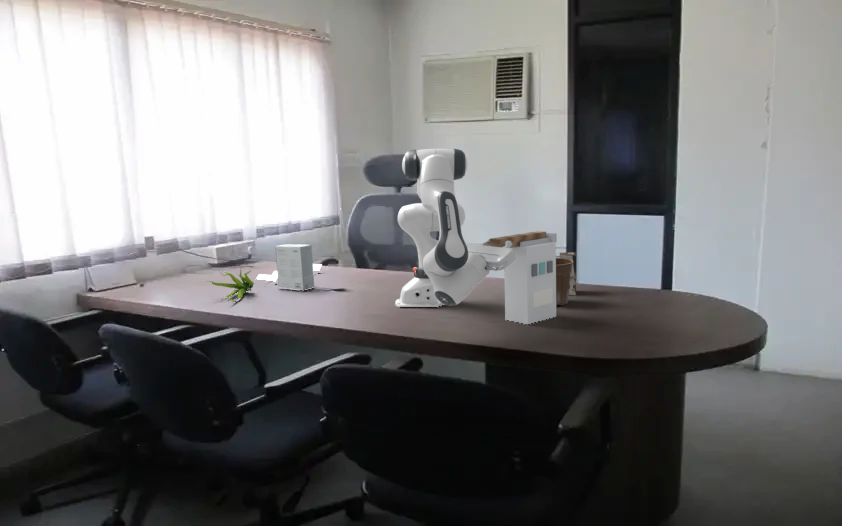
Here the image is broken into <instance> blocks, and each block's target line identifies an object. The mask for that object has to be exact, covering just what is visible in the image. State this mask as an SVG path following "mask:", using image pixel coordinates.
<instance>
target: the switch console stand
mask: <svg viewBox="0 0 842 526" xmlns="http://www.w3.org/2000/svg"><path fill="white" fill-rule="evenodd" d="M557 235H558V234H557V232H546V238H542V239H536V240H530V241H524V242H520V247H514V248H511V249H513V251H514V253H515V255H516V259H515V260H514V261H513V262H512V263H511V264H510V265H509V266H507V267H506V268H505V269H503V271H504V272H503V273H504V274H503V275H504V280H503V281H504V315H505V316H504V320H505V321H507V320H509V321H508V322H511V321H514V322H513V323H516V322H519V323H518V324H521V323H523V324H522V325H525V324H530V325H532V324H531V323H533V324H535V323H534V322H536V323H539V322H538V321H540V322H542V320H543V321H547V320H550V319H553V317H554V318H556V317H557V306H556V258H557V255H556V254H557V252H556V250H557V249H556V247H557V239H558V238H557ZM549 318H550V319H549ZM546 319H547V320H546Z"/></svg>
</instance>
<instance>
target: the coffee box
mask: <svg viewBox="0 0 842 526" xmlns="http://www.w3.org/2000/svg"><path fill="white" fill-rule="evenodd" d="M559 258H565V259H570V260H573V264H572V271H571V273H570V283H569V295H568V296H576V295H577V254H576V252H575V251H573V252H572V251H570V252H569V251H568V252H567V251H566V252H565V251H564V252H559Z"/></svg>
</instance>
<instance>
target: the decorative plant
mask: <svg viewBox="0 0 842 526" xmlns="http://www.w3.org/2000/svg"><path fill="white" fill-rule="evenodd" d="M239 268H240V270H239V271H240V272H239V273H237V275H238V276H239V277H240V279H238V278H237V277H236V276H235V275H233V274H232V273H229V272H227V271H225V270H223V269H222V272H223V273H225V274H223V273H221V271H219V272H220V274H221V275H222V276H224V277H225V276H229V277H230V278H231V281H233V282H234V283H227V282H226V283H225V282H214V281H212V280H211V281H210V280H206V282H208V283H209V282H210V283H211V284H212V285H214V286H217V287H218V286H220V287H225V288H230V289H234V290H233V291H231V292H230V293H229V294H227V295H226V296H224V297H228V298H230V297H232V296H234V295H236V294H235V293H237V292H238V294H237V298H241V297H243V295H244V294H245V293H244V292H246V291H249V290H251V291H252V288H254V285H255V284H254V281H253V280H251V278H250V277H249V276H248V274H250V273H251V272H252V270H250V269H249V270H248V271H247V272H246V273H244V276H243V274H242V267H241V266H239ZM249 292H250V291H249ZM231 295H232V296H231ZM229 296H230V297H229ZM230 301H231V302H232V303H233V302H234V301H235V300H234V299H232V298H231V299H229V301H228V303H227V304H229V303H230Z"/></svg>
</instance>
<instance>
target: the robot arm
mask: <svg viewBox="0 0 842 526" xmlns="http://www.w3.org/2000/svg"><path fill="white" fill-rule="evenodd" d="M401 169H402V172H403V174H404V177H405V178H406V179H407V180H410V181H413V182H417V189H416V190H417V195H418V197H419V199H420V201H421V202H417V203H410V204H407V205H403V206H402V207H401V208H400V209H399V211H398V214H397V223H398V225H399V227H400V228H401V230H403V231H404V232H405V233H406V234H408V235H409V236H410V237H411V238H412V239H413V242H414V244H415V245H416V251H417V256H418V267H417V266H414V267H413V268H412V272H413V276H414V277H412V278H411V279H410V280H409V281H408V282H406V283H405V284H404V285H403V286H402V288H401V291H400V295H399V298H397V299H396V300H395V303H394V306H395V307H396V308H400V307H437V308H440V307H443V306H450V307H453V306H457V305H458V304H460V303H462V302H463V301H464V300H466V298H467V297H468V296H469V295H470V294H471V293H472V292H473V290H474V289H475V287H477V286H478V285H480V283H481V282H483V280H484V279H485V278H486V277H487V276H488V275H489V274H490V271H493V272H497V271H504V269H505V268H506V267H507V266H509V265H510V264H511V263H512V262H513V261H514V260H515V259H516V255H515V253H514V251H513V249H511V248H510V247H511V246H512V242H511V241H506V242H505V243H504V244H505V247H504V246H503V247H493V246H490V239H491V238H489V239H487V240H486V241H484V242H482V243H480V244H470V243H469V244H467V243H466V242H465V239H464V237H463V234H462V226H463V225H464V222H465V220H466V212H465V210H464V208H463V206H462V205H461V204H460V203H458V201H457V199H456V195H455V194H456V193H455V192H456V191H455V181H456V180H460V179H461V180H462V179H463V178H464V177H465V176H466V172H467V170H468V159H467V156H466V152H464V151H463V150H462V149H459V148H453V149H450V148H439V147H438V148H437V147H436V148H435V147H434V148H425V149H411V150H407V151H406V152H405V153H404V156H403V158H402V162H401ZM431 232H440V233H439V235H440V236H439V238H438V239H435V238H433V237H432V236H431ZM442 305H443V306H442ZM439 306H440V307H439Z"/></svg>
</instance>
